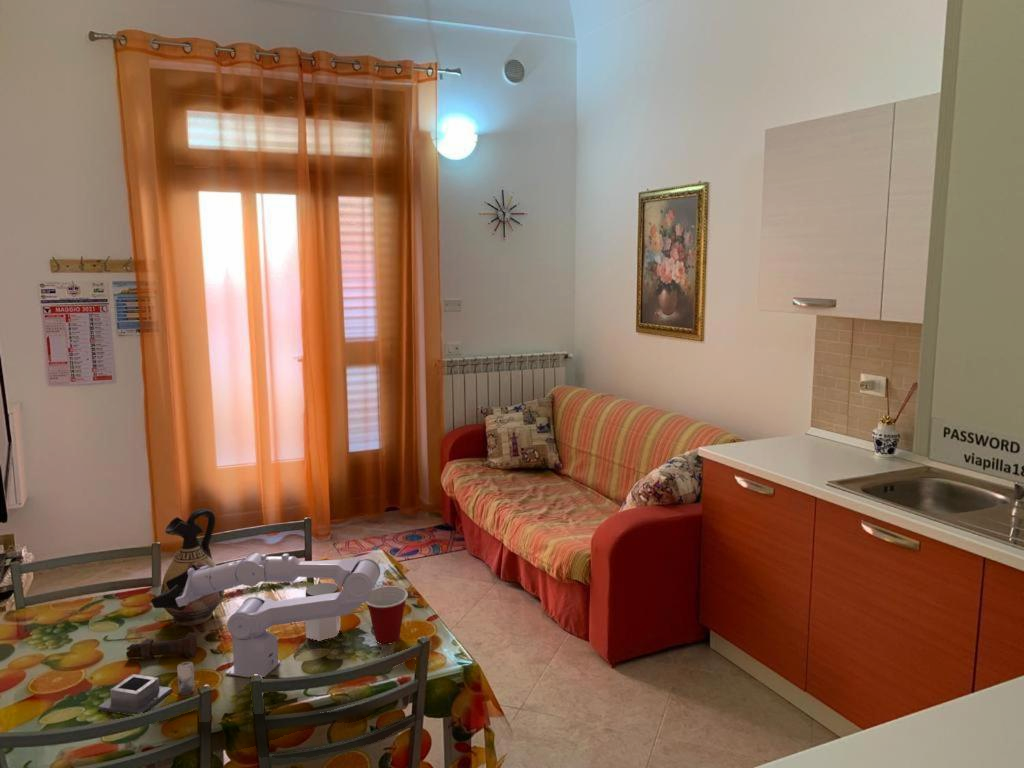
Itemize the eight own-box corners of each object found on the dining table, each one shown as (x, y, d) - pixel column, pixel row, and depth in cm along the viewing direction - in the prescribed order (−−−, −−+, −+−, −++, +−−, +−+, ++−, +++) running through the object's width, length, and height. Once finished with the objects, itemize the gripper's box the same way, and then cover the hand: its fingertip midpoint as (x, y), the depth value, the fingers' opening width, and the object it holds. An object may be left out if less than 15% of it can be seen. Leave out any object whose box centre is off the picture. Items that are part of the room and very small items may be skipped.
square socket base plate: (171, 691, 165) (170, 675, 164) (138, 716, 155) (137, 699, 155) (133, 685, 167) (132, 669, 167) (98, 709, 158) (97, 692, 157)
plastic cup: (356, 645, 186) (355, 599, 184) (378, 627, 196) (377, 583, 194) (395, 653, 182) (394, 606, 180) (416, 634, 192) (415, 589, 190)
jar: (336, 641, 188) (334, 596, 186) (303, 642, 187) (301, 596, 186) (343, 625, 197) (341, 581, 195) (311, 626, 196) (310, 582, 195)
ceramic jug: (173, 637, 190) (166, 523, 186) (155, 617, 201) (148, 509, 197) (240, 618, 201) (235, 509, 197) (219, 600, 212) (213, 497, 208)
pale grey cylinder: (197, 688, 166) (196, 662, 165) (188, 695, 163) (186, 669, 162) (185, 686, 167) (183, 660, 166) (175, 693, 164) (173, 667, 163)
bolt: (130, 664, 180) (196, 658, 182) (123, 664, 175) (190, 657, 178) (132, 639, 182) (197, 633, 184) (125, 637, 178) (192, 631, 180)
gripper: (220, 548, 178) (167, 563, 179) (196, 580, 164) (138, 596, 165) (232, 574, 180) (179, 589, 181) (209, 607, 166) (151, 623, 167)
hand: (160, 594), depth 173 cm, fingers open, 7 cm apart
